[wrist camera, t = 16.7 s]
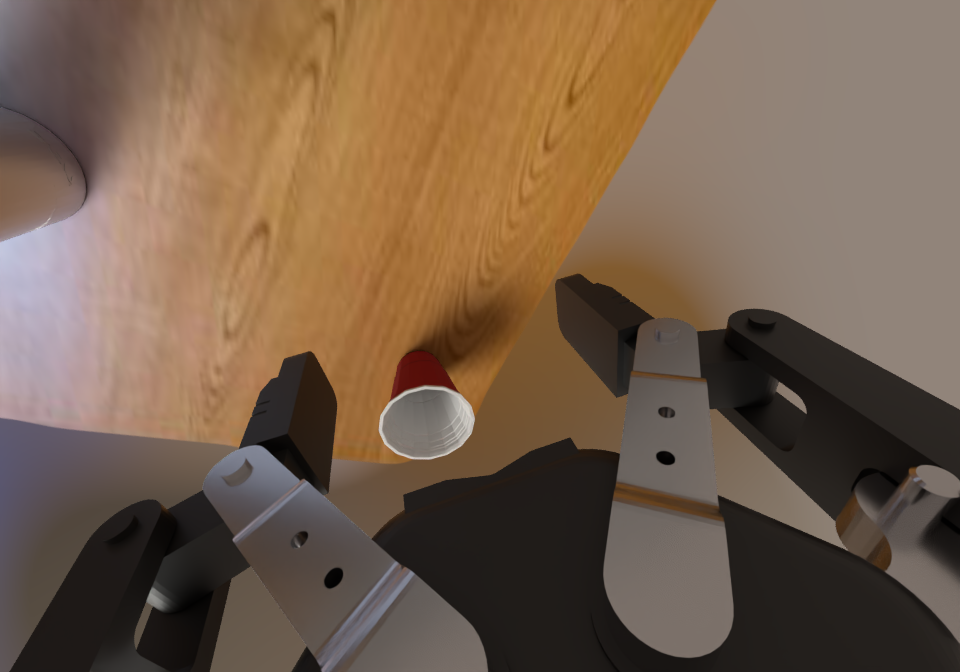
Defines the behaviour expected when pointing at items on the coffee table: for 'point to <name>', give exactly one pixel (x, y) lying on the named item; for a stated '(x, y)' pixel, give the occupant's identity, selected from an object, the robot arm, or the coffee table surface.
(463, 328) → the coffee table surface
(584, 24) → the coffee table surface
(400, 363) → the plastic cup
